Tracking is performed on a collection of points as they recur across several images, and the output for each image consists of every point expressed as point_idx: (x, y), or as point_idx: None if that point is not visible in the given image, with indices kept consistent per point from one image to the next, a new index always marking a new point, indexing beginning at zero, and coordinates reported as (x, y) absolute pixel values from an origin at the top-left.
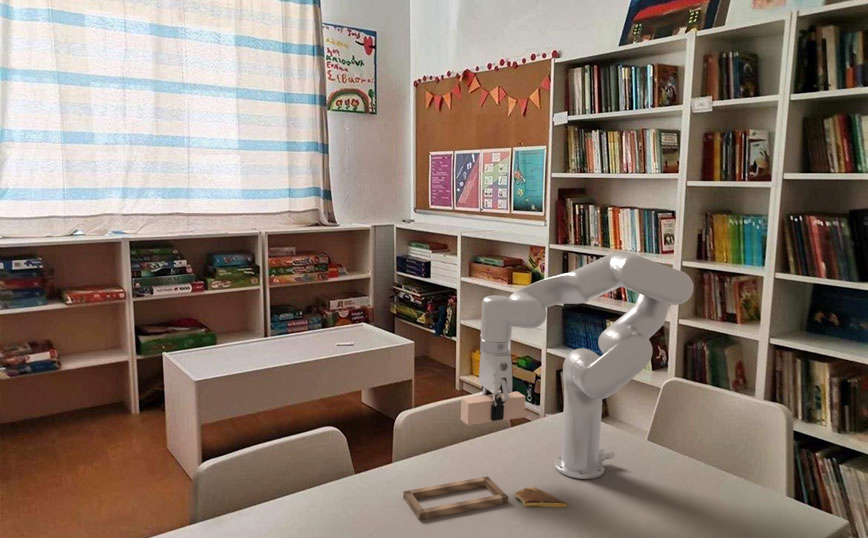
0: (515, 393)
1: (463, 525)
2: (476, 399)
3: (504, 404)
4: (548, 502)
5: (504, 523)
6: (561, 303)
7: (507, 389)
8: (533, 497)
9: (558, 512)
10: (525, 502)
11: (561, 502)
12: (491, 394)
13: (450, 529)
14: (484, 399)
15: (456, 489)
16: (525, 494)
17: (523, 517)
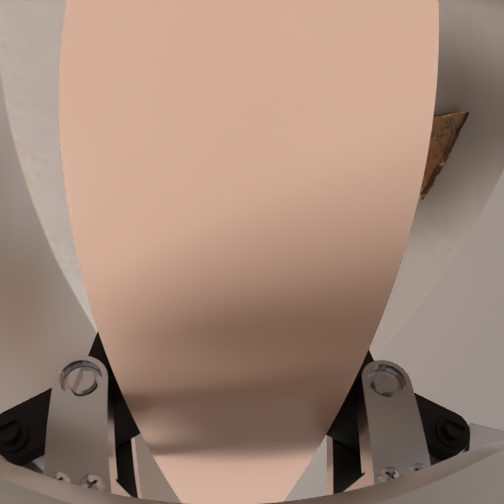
0: (179, 34)
1: (388, 329)
2: (234, 493)
3: (398, 370)
4: (450, 150)
5: (429, 267)
6: None
7: (480, 497)
8: None
9: (465, 146)
10: (421, 196)
11: (461, 122)
12: (112, 408)
13: (382, 347)
14: (256, 477)
15: None
16: None
17: (439, 224)
